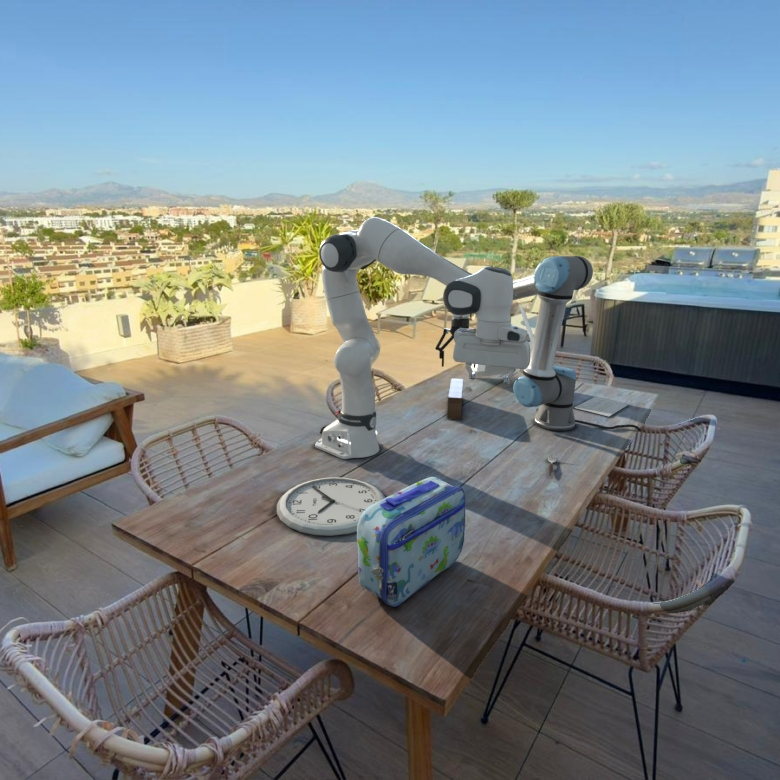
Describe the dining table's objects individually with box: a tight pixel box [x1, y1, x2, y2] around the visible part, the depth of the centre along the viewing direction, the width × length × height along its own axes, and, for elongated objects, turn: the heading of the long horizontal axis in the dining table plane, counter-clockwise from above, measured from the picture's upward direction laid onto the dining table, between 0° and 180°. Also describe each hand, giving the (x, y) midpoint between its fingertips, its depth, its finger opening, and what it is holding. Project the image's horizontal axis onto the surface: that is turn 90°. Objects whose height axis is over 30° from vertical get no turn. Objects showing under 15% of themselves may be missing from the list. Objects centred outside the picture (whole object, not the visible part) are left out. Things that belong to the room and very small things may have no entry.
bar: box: [446, 377, 464, 421], centre depth 220 cm, size 28×5×9 cm, turn 171°
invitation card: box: [573, 396, 629, 418], centre depth 226 cm, size 21×1×15 cm
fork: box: [547, 451, 558, 477], centre depth 168 cm, size 3×16×2 cm, turn 160°
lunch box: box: [356, 476, 466, 608], centre depth 110 cm, size 26×11×21 cm, turn 134°
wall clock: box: [276, 476, 386, 537], centre depth 142 cm, size 30×2×30 cm
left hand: (489, 381), depth 141 cm, fingers open, 8 cm apart
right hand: (458, 366), depth 225 cm, fingers open, 13 cm apart
